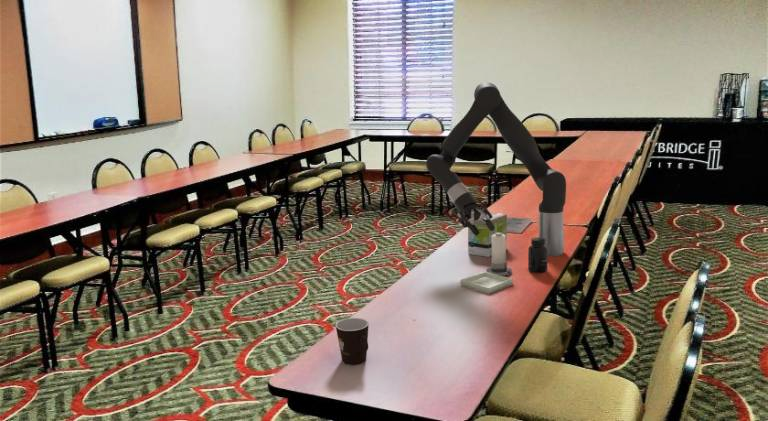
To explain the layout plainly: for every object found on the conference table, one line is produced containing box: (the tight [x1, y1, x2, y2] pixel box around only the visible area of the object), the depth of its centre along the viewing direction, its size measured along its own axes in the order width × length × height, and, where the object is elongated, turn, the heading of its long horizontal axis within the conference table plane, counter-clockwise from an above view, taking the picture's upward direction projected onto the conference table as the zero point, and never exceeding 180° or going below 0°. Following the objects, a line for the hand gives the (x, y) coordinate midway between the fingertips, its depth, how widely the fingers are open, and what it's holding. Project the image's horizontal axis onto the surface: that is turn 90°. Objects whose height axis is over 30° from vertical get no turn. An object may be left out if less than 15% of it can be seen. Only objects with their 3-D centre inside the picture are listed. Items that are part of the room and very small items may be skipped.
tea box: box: [467, 211, 508, 258], centre depth 261 cm, size 15×10×15 cm
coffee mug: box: [335, 317, 369, 366], centre depth 169 cm, size 12×9×10 cm
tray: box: [459, 271, 514, 295], centre depth 223 cm, size 13×13×2 cm
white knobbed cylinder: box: [491, 233, 507, 264], centre depth 233 cm, size 5×5×11 cm
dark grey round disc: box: [485, 261, 513, 277], centre depth 235 cm, size 9×9×4 cm
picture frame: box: [507, 216, 533, 234], centre depth 301 cm, size 16×2×22 cm
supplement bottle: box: [527, 236, 549, 274], centre depth 235 cm, size 7×7×12 cm
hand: (485, 232), depth 237 cm, fingers open, 8 cm apart
